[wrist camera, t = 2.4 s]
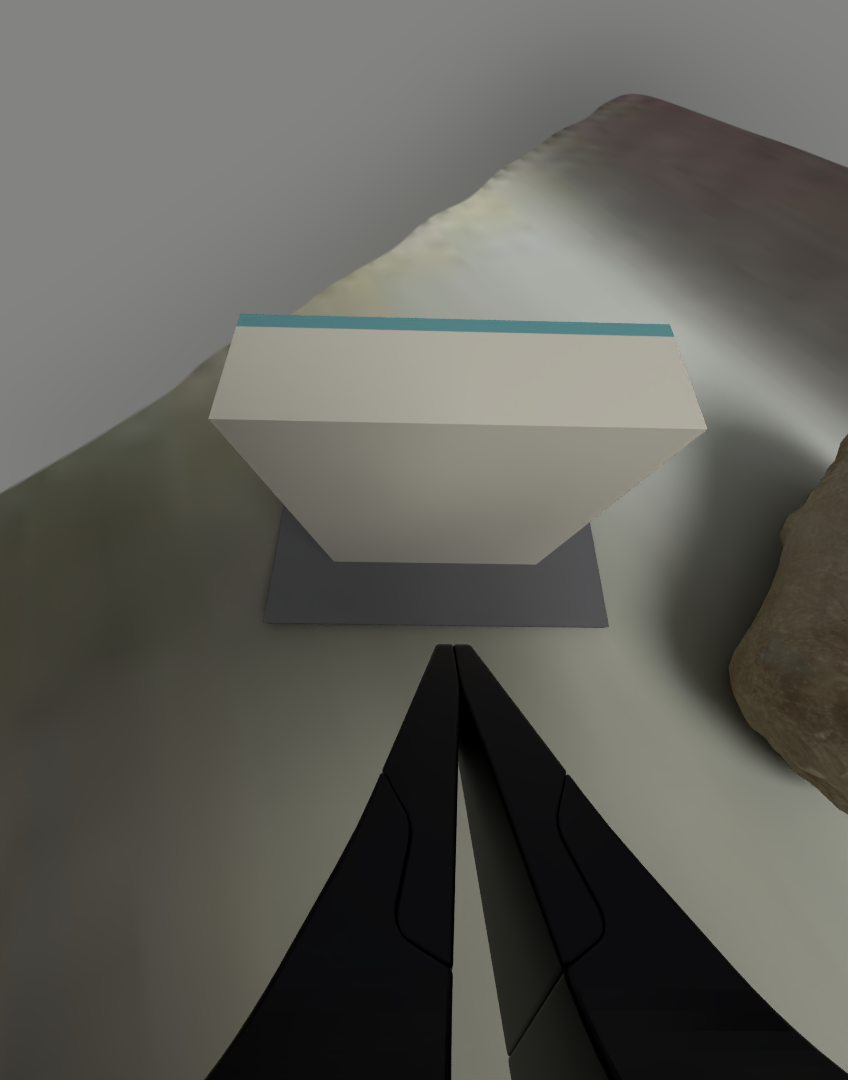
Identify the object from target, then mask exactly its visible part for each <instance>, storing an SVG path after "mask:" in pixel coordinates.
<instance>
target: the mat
mask: <svg viewBox="0 0 848 1080" xmlns="http://www.w3.org/2000/svg"><path fill="white" fill-rule="evenodd" d="M263 622H264V623H277V624H353V625H429V626H506V627H582V628H605V627H609V625H608V619H607V614H606V608H605V603H604V597H603V592H602V587H601V581H600V576H599V570H598V565H597V559H596V554H595V548H594V543H593V537H592V532H591V527H590V522H589V523H588V524H587V525H586V526H584V527H583V528H582V529H580V530H579V531H578V532H577V533H575V534H574V535H573V536H572V537H570V538H569V539H568V540H567V541H565V542H564V543H563V544H561V545H560V546H559V547H558V548H556V549H555V550H554V551H553V552H551V553H550V554H549V555H548V556H546V557H545V558H544V559H542V560H541V561H540V562H539V563H537V564H536V565H530V564H466V563H401V562H336V561H333V560H332V559H331V558H330V557H329V555H328V554H327V553H326V552H325V551H324V550H323V549H322V547H321V546H320V545H319V544H318V543H317V542H316V541H315V540H314V538H313V537H312V536H311V535H310V534H309V533H308V532H307V530H306V529H305V528H304V527H303V526H302V525H301V524H300V522H299V521H298V520H297V519H296V518H295V517H294V516H293V515H292V513H291V512H290V511H289V510H288V509H287V508H286V507H285V505H284V509H283V515H282V520H281V526H280V531H279V537H278V542H277V548H276V554H275V559H274V565H273V570H272V576H271V581H270V587H269V592H268V598H267V603H266V609H265V614H264V620H263Z"/></svg>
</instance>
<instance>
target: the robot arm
mask: <svg viewBox="0 0 848 1080" xmlns="http://www.w3.org/2000/svg"><path fill="white" fill-rule="evenodd" d="M458 762H459V768H460V774H461V780H462V786H463V792H464V798H465V804H466V810H467V816H468V822H469V828H470V834H471V840H472V846H473V852H474V858H475V864H476V870H477V876H478V882H479V888H480V894H481V900H482V906H483V912H484V918H485V924H486V930H487V936H488V942H489V947H490V953H491V959H492V965H493V971H494V977H495V983H496V989H497V995H498V1001H499V1007H500V1013H501V1019H502V1025H503V1031H504V1037H505V1043H506V1049H507V1054H508V1055H509V1056H510V1057H509V1060H508V1061H509V1068H510V1074H511V1079H512V1080H848V1073H846V1072H845V1071H844V1070H843V1069H841V1068H840V1067H839V1066H838V1065H836V1064H835V1063H834V1062H833V1061H831V1060H830V1059H829V1058H828V1057H826V1056H825V1055H824V1054H823V1053H822V1052H820V1051H819V1050H818V1049H817V1048H816V1047H815V1046H813V1045H812V1044H811V1043H810V1042H809V1041H808V1040H807V1039H805V1038H804V1037H803V1036H802V1035H801V1034H800V1033H798V1032H797V1031H796V1030H795V1029H794V1028H793V1027H792V1026H791V1025H790V1024H789V1023H788V1022H787V1021H786V1020H785V1019H783V1018H782V1017H781V1016H780V1015H779V1014H778V1013H777V1012H776V1011H775V1010H774V1009H773V1008H772V1007H771V1006H770V1005H769V1004H768V1003H767V1002H766V1001H765V1000H764V999H763V998H762V997H761V996H760V995H759V994H758V993H757V992H756V991H755V990H754V989H753V988H752V987H751V986H750V985H749V984H748V982H747V981H746V980H745V979H744V978H743V977H742V976H741V975H740V974H739V973H738V972H737V970H736V969H735V968H734V967H733V966H732V965H731V964H730V963H729V962H728V960H727V959H726V958H725V957H724V956H723V955H722V954H721V953H720V951H719V950H718V949H717V948H716V947H715V946H714V945H713V944H712V942H711V941H710V940H709V939H708V938H707V937H706V936H705V935H704V933H703V932H702V931H701V930H700V929H699V928H698V927H697V926H696V924H695V923H694V922H693V921H692V920H691V919H690V918H689V917H688V915H687V914H686V913H685V912H684V911H683V910H682V909H681V908H680V906H679V905H678V904H677V903H676V902H675V901H674V900H673V899H672V897H671V896H670V895H669V894H668V893H667V892H666V891H665V890H664V888H663V887H662V886H661V885H660V884H659V883H658V882H657V881H656V879H655V878H654V877H653V876H652V875H651V874H650V873H649V872H648V870H647V869H646V868H645V867H644V866H643V865H642V864H641V863H640V861H639V860H638V859H637V858H636V857H635V856H634V854H633V853H632V852H631V851H630V850H629V849H628V848H627V846H626V845H625V844H624V843H623V842H622V841H621V839H620V838H619V837H618V836H617V835H616V834H615V832H614V831H613V830H612V829H611V828H610V827H609V825H608V824H607V823H606V822H605V820H604V819H603V818H602V817H601V815H600V814H599V813H598V811H597V810H596V809H595V808H594V806H593V805H592V804H591V803H590V801H589V800H588V799H587V798H586V796H585V795H584V794H583V793H582V791H581V790H580V789H579V787H578V786H577V785H576V783H575V782H574V781H573V779H572V778H571V777H570V775H566V770H565V769H564V768H563V766H562V765H561V764H560V762H559V761H558V760H557V758H556V757H555V756H554V754H553V753H552V752H551V751H550V749H549V748H548V747H547V745H546V744H545V743H544V741H543V740H542V739H541V737H540V736H539V735H538V733H537V732H536V731H535V729H534V728H533V727H532V726H531V724H530V723H529V722H528V720H527V719H526V718H525V716H524V715H523V714H522V712H521V711H520V710H519V708H518V707H517V706H516V705H515V703H514V702H513V701H512V699H511V698H510V697H509V695H508V694H507V693H506V691H505V690H504V689H503V687H502V686H501V685H500V683H499V682H498V681H497V680H496V678H495V677H494V676H493V674H492V673H491V672H490V670H489V669H488V668H487V666H486V665H485V664H484V662H483V661H482V660H481V659H480V657H479V656H478V655H477V653H476V652H475V651H474V649H473V648H472V647H471V646H470V645H454V647H453V646H452V645H451V644H438V645H437V646H436V647H435V649H434V652H433V654H432V656H431V659H430V661H429V663H428V665H427V668H426V670H425V672H424V675H423V677H422V679H421V682H420V684H419V686H418V689H417V691H416V693H415V696H414V698H413V700H412V703H411V705H410V707H409V710H408V712H407V714H406V716H405V719H404V721H403V723H402V726H401V728H400V730H399V733H398V735H397V737H396V740H395V742H394V744H393V747H392V749H391V751H390V754H389V756H388V758H387V760H386V763H385V765H384V767H383V770H382V772H383V773H381V774H380V776H379V778H378V781H377V783H376V785H375V788H374V790H373V792H372V795H371V797H370V799H369V801H368V803H367V805H366V807H365V810H364V812H363V814H362V816H361V818H360V820H359V822H358V825H357V827H356V828H355V830H354V832H353V834H352V836H351V838H350V840H349V842H348V844H347V846H346V847H345V849H344V851H343V853H342V855H341V857H340V859H339V861H338V863H337V864H336V866H335V868H334V870H333V871H332V873H331V875H330V877H329V879H328V880H327V882H326V884H325V886H324V887H323V889H322V891H321V893H320V894H319V896H318V898H317V900H316V902H315V903H314V905H313V907H312V909H311V910H310V912H309V914H308V916H307V918H306V919H305V921H304V923H303V925H302V926H301V928H300V930H299V932H298V934H297V935H296V937H295V939H294V941H293V942H292V944H291V946H290V948H289V949H288V951H287V953H286V955H285V957H284V958H283V960H282V962H281V964H280V965H279V967H278V969H277V971H276V972H275V974H274V976H273V977H272V979H271V981H270V983H269V984H268V986H267V988H266V989H265V991H264V993H263V994H262V996H261V997H260V999H259V1001H258V1002H257V1004H256V1006H255V1007H254V1009H253V1011H252V1012H251V1014H250V1015H249V1017H248V1018H247V1020H246V1021H245V1023H244V1024H243V1026H242V1028H241V1029H240V1031H239V1032H238V1034H237V1035H236V1037H235V1038H234V1040H233V1041H232V1043H231V1044H230V1045H229V1047H228V1048H227V1050H226V1051H225V1053H224V1054H223V1056H222V1057H221V1058H220V1060H219V1061H218V1062H217V1064H216V1065H215V1066H214V1068H213V1069H212V1070H211V1072H210V1073H209V1074H208V1076H207V1077H206V1078H205V1080H451V1044H452V985H453V974H452V967H453V945H454V906H455V866H456V827H457V787H458Z"/></svg>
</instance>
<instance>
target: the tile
mask: <svg viewBox="0 0 848 1080" xmlns="http://www.w3.org/2000/svg"><path fill="white" fill-rule="evenodd" d="M208 419H209V420H210V421H211V423H212V424H213V425H214V426H215V427H216V428H217V429H218V431H219V432H220V433H221V434H222V435H223V436H224V437H225V439H226V440H227V441H228V442H229V443H230V444H231V445H232V446H233V448H234V449H235V450H236V451H237V452H238V453H239V454H240V456H241V457H242V458H243V459H244V460H245V461H246V462H247V463H248V465H249V466H250V467H251V468H252V469H253V470H254V471H255V473H256V474H257V475H258V476H259V477H260V478H261V479H262V481H263V482H264V483H265V484H266V485H267V486H268V487H269V488H270V490H271V491H272V492H273V493H274V494H275V495H276V496H277V498H278V499H279V500H280V501H281V502H282V503H283V504H284V505H285V507H286V508H287V509H288V510H289V511H290V512H291V513H292V515H293V516H294V517H295V518H296V519H297V520H298V521H299V522H300V524H301V525H302V526H303V527H304V528H305V529H306V530H307V532H308V533H309V534H310V535H311V536H312V537H313V538H314V540H315V541H316V542H317V543H318V544H319V545H320V546H321V547H322V549H323V550H324V551H325V552H326V553H327V554H328V555H329V557H330V558H331V559H332V560H333V561H336V562H401V563H466V564H530V565H536V564H537V563H539V562H540V561H541V560H542V559H544V558H545V557H546V556H548V555H549V554H550V553H551V552H553V551H554V550H555V549H556V548H558V547H559V546H560V545H561V544H563V543H564V542H565V541H567V540H568V539H569V538H570V537H572V536H573V535H574V534H575V533H577V532H578V531H579V530H580V529H582V528H583V527H584V526H586V525H587V524H588V523H589V522H591V521H592V520H593V519H594V518H596V517H597V516H598V515H600V514H601V513H602V512H603V511H605V510H606V509H607V508H608V507H610V506H611V505H612V504H613V503H615V502H616V501H617V500H619V499H620V498H621V497H622V496H624V495H625V494H626V493H627V492H629V491H630V490H631V489H633V488H634V487H635V486H636V485H638V484H639V483H640V482H641V481H643V480H644V479H645V478H646V477H648V476H649V475H650V474H652V473H653V472H654V471H655V470H657V469H658V468H659V467H660V466H662V465H663V464H664V463H665V462H667V461H668V460H669V459H671V458H672V457H673V456H674V455H676V454H677V453H678V452H679V451H681V450H682V449H683V448H685V447H686V446H687V445H688V444H690V443H691V442H692V441H693V440H695V439H696V438H697V437H698V436H700V435H701V434H702V433H704V432H705V431H706V430H707V426H706V423H705V421H704V418H703V415H702V412H701V410H700V407H699V404H698V401H697V398H696V396H695V393H694V390H693V387H692V385H691V382H690V379H689V376H688V374H687V371H686V368H685V365H684V363H683V360H682V357H681V354H680V352H679V349H678V346H677V343H676V341H675V338H674V335H673V332H672V330H671V327H670V325H669V324H628V323H587V322H546V321H505V320H464V319H424V318H383V317H342V316H301V315H258V314H240V317H239V320H238V323H237V326H236V329H235V333H234V336H233V339H232V343H231V346H230V349H229V352H228V356H227V359H226V362H225V366H224V369H223V372H222V375H221V379H220V382H219V385H218V389H217V392H216V395H215V398H214V402H213V405H212V408H211V412H210V415H209V418H208Z"/></svg>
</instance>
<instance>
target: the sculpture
mask: <svg viewBox="0 0 848 1080" xmlns="http://www.w3.org/2000/svg"><path fill="white" fill-rule="evenodd" d="M780 540H781V542H782V545H783V550H782V553H781V557H780V561H779V565H778V569H777V572H776V574H775V577H774V579H773V582H772V585H771V588H770V590H769V592H768V594H767V596H766V598H765V600H764V602H763V604H762V606H761V608H760V610H759V612H758V614H757V616H756V618H755V619H754V621H753V623H752V624H751V626H750V627H749V629H748V631H747V632H746V634H745V635H744V637H743V638H742V640H741V641H740V643H739V644H738V646H737V647H736V649H735V651H734V653H733V656H732V658H731V662H730V665H729V673H730V681H731V686H732V691H733V694H734V696H735V699H736V701H737V703H738V705H739V707H740V709H741V711H742V713H743V716H744V717H745V719H746V720H747V722H748V724H749V725H750V727H751V728H753V729H754V730H755V731H756V732H758V733H759V734H761V735H762V736H764V737H765V738H766V740H767V741H768V742H769V744H770V745H771V747H772V748H773V749H774V750H775V751H776V752H778V753H779V754H780V755H781V756H782V758H783V759H784V760H785V761H786V763H787V764H788V765H789V766H790V767H791V768H792V769H793V770H794V771H795V772H796V773H797V774H798V775H799V776H801V777H802V778H804V779H805V780H807V781H808V782H810V783H811V784H812V785H813V786H815V787H816V788H817V789H818V790H819V791H820V792H821V793H822V794H823V795H824V796H826V797H827V798H828V799H829V800H830V801H831V802H832V803H833V804H834V805H835V806H836V807H837V808H838V809H839V810H841V811H843V812H845V813H846V814H848V434H847V436H846V437H845V438H844V439H843V440H842V442H841V443H840V447H839V450H838V453H837V456H836V459H835V461H834V462H833V463H832V464H831V465H830V467H829V468H828V469H827V471H826V474H825V477H824V478H822V479H821V481H820V483H819V485H818V486H817V487H816V488H815V489H813V490H812V491H811V493H810V495H809V497H808V499H807V500H806V502H805V503H804V505H803V506H802V507H800V508H799V509H798V510H796V511H794V512H792V513H791V514H790V515H789V516H788V517H787V518H786V521H785V523H784V526H783V528H782V531H781V535H780Z"/></svg>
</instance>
